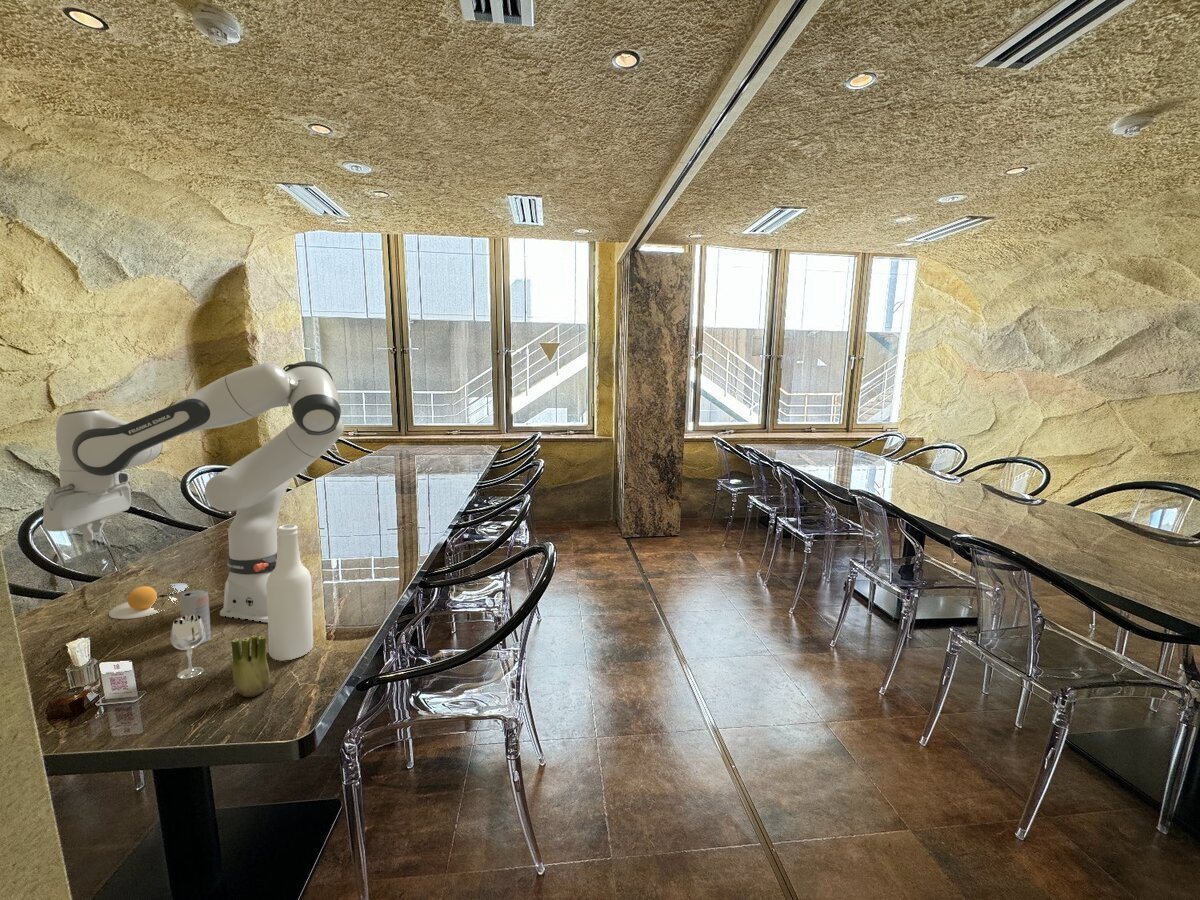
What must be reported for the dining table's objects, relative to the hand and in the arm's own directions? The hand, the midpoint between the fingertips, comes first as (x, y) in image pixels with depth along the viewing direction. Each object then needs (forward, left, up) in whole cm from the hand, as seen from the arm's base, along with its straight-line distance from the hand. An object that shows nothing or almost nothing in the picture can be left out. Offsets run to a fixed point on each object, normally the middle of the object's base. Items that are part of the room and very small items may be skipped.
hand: (92, 539), depth 122 cm
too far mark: (+17, -24, -24) cm, 38 cm away
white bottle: (-45, -15, -24) cm, 53 cm away
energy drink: (-21, -9, -24) cm, 33 cm away
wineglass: (-34, 0, -24) cm, 42 cm away
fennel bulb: (-52, -1, -24) cm, 57 cm away
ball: (+9, -13, -21) cm, 26 cm away
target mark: (+10, -14, -24) cm, 29 cm away
